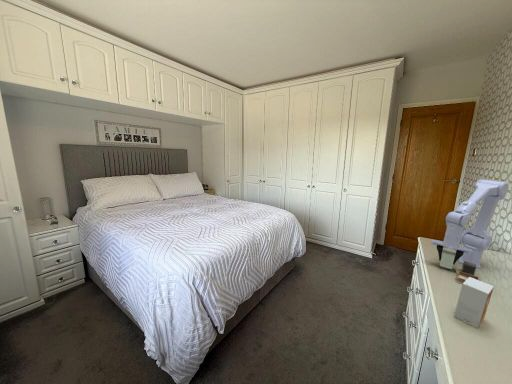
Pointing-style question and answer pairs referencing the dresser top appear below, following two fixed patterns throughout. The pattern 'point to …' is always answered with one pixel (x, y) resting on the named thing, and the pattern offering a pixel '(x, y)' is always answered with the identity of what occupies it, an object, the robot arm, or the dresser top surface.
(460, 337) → the dresser top surface
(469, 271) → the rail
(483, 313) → the small box
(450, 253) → the finger block
